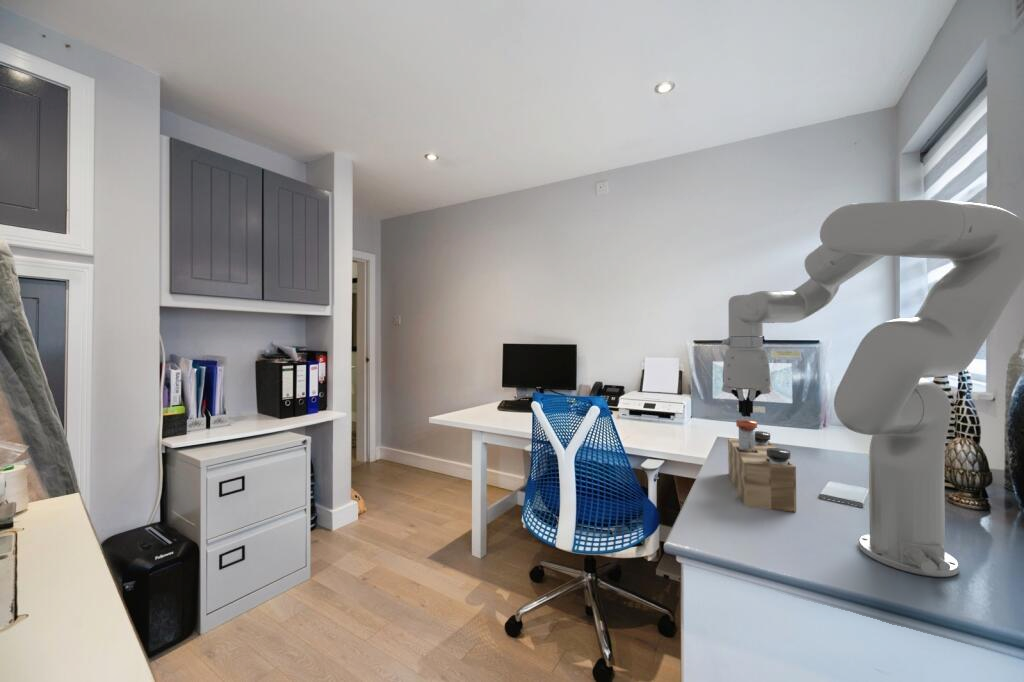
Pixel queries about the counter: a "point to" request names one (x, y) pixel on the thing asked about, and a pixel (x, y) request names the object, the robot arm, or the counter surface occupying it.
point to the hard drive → (845, 493)
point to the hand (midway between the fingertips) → (745, 415)
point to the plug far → (761, 438)
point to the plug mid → (746, 435)
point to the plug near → (778, 456)
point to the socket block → (762, 478)
